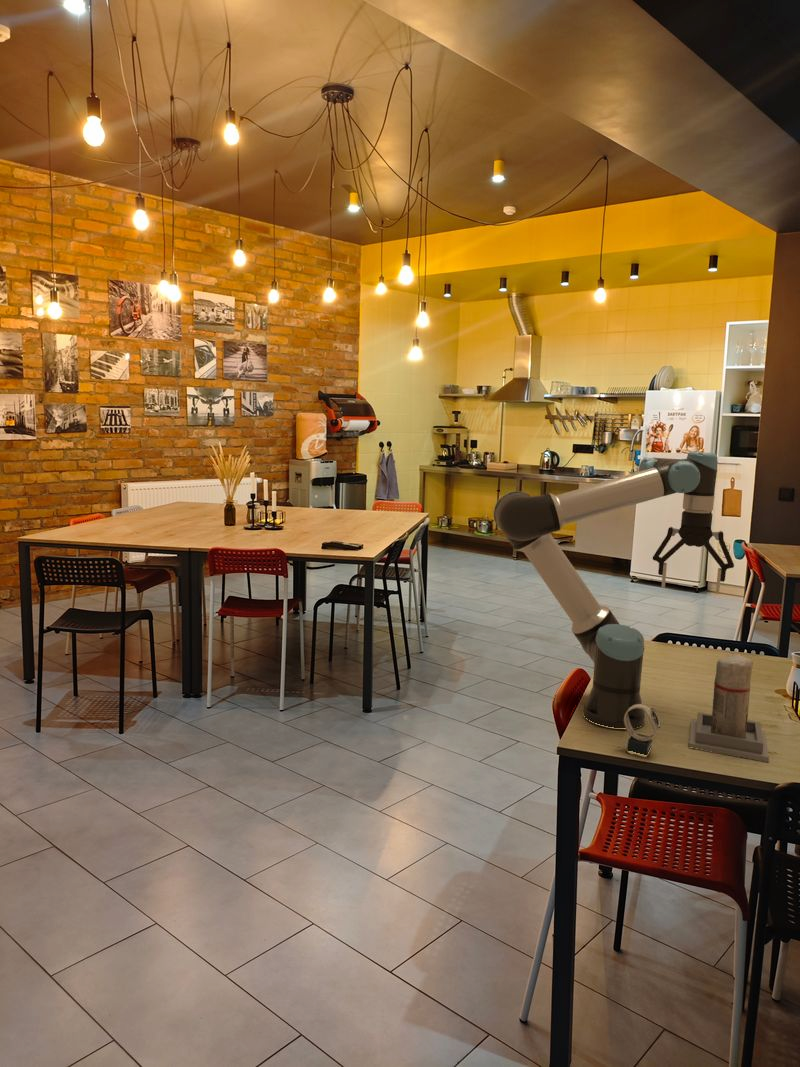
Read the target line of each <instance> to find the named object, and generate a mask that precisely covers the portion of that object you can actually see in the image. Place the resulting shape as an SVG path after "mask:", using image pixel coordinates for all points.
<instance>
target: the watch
mask: <svg viewBox="0 0 800 1067" xmlns="http://www.w3.org/2000/svg"><path fill="white" fill-rule="evenodd" d="M635 708H640V709H641V708H642V709H644V713H645V718H646V719H645V720H646V721H647V724H648V725H649V727H650V728H651V729H652V731H653V734H651V735H645V734H641V733H636V732H635V731H634V730H635V729H633V728H632V726H631V724H630V720H629V717H628V712H629V711H630V710H632V709H635ZM624 724H625V727H626V729H627V730H626V731H627V733H628V735H629V738H628V740H627V749H626V751H627V750H628V751H633V752H636V753H640V754H644V755H647V754H648V752H649V750H650V748H651V749H652V741H653V739H654V738H655V736H656V735H657V734H658V732H659V730H660V729H661V721H660V718H659V715H658V714H657V712H656V710H655V709H654V708H653V707H650V706H649V705H647V704H644V703H642V704H636V705H633V706H631V707H630V708H629V709H628V710H627V712H626V713H625V716H624ZM650 751H651V750H650ZM649 753H650V752H649ZM648 755H649V754H648Z"/></svg>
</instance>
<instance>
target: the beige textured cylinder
mask: <svg viewBox="0 0 800 1067" xmlns="http://www.w3.org/2000/svg"><path fill="white" fill-rule="evenodd" d="M753 664H754V663H753V661H752V659H751V658H748V657H745V656H742V655H741V654H735V653H734V654H730V655H727V657H724V658H720V659H718V660H717V662H716V669H715V670H716V671H715V672H716V673H715V677H714V686H713V699H712V712H711V714H712V721H711V722H712V724H711V733H715V734H720V735H726V736H732V737H738V738H744V739H746V729H747V720H748V716H749V706H750V705H749V704H750V693H751V678H752V670H753Z"/></svg>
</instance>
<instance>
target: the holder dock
mask: <svg viewBox="0 0 800 1067" xmlns="http://www.w3.org/2000/svg"><path fill="white" fill-rule="evenodd" d="M711 721H712V713H711V714H710V713H705V712H700V711H698V712H697V716H696V719H694V718H691V720H690V730H689V731H690V733H689V741H688V742H689V744H688V748H689V747H693V748H698V749H703V750H707V751H706V752H708V751H712V752H711V753H713V752H716V753H715V754H719V753H722V754H721V755H724V754H727V755H726V756H730V755H732V756H731V757H736V756H737V758H741V757H743V758H742V759H747V758H748V759H749V760H752V759H754V761H757V762H763V763H769V760H770V757H769V756H770V755H769V749H768V744H767V739H766V737H767V736H766V731H765V730H762V725H761V722H759V721H754V720H748V719H747V729H746V739H744V738H738V737H732V736H726V735H720V734H715V733H711V724H712V722H711Z"/></svg>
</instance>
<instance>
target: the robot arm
mask: <svg viewBox="0 0 800 1067" xmlns="http://www.w3.org/2000/svg"><path fill="white" fill-rule="evenodd" d="M639 463H640V464H639V466H638V471H637V472H633V473H631V474H626V475H623V476H619V477H616V478H611V479H608V480H606V481H602V482H598V483H595V484H591V485H588V486H585V487H581V488H578V489H577V488H576V489H575V490H571V491H567V492H564V493H559V494H557V495H555V494H553V493H551V492H549V493H546V494H542V495H532V496H531V495H530V494H529V493H527V492H524V491H520V490H515V491H514V490H513V491H510V492H507V493H505V494H503V495H502V496H501V497H500V498H498V500H497V502H496V504H495V505H494V508H493V509H494V510H493V519H494V520H493V521H494V522H495V524H496V526H497V528H499V529H500V530H501V532H502V533H503V534H504V536H505V538H506V539H507V540H508V541H509V543H510V545H511V546H512V547H513V549H514V550H515V551H516V552H522V553H524V555H525V556H526V557H527V560H528V561H529V562H530V563H531V565H532V566H533V567H534V569H535V570H536V572H537V574H538V575H539V576H540V578H541V580H543V582H544V583H545V585H546V586H547V588H548V589H549V591H550V592H551V594H552V595H553V596H554V598H555V599H556V600H557V602H558V604H559V605H560V607H561V608H562V609H563V610H564V612H565V614H566V616H568V618H569V620H570V621H571V623H572V626H571V632H572V633H573V635H574V637H575V638H576V639H577V641H578V642H579V643H580V645H581V648H582V649H583V651H584V652H585V653H586V654H587V655H588V656H589V658H590V659H591V661H593V663H594V664H593V665H594V666H593V677H592V688H591V689H590V692H589V694H588V696H587V699H586V701H585V704H584V706H583V713H582V714H584V716H585V718H587V719H588V720H590V721H592V722H594V723H597V724H600V725H604V726H608V727H614V728H626V727H625V724H624V716H625V713H626V712H627V710H628V709H629V708H630V707H631V706H633V705H636V704H643V700H642V698H641V692H640V691H641V682H642V671H643V659H644V652H645V642H644V641H645V639H644V634H642V633H641V632H640V631H639V630H638V629H636V628H634V627H631V626H630V625H629V626H628V625H625V624H620V622H619V621H618V619H617V618H616V617H615V615H614V614H613V612H612V611H611V610H610V608H609V606H606V605H601V604H600V603H599V601H597V599H596V598H595V596H594V595H593V593H592V592H591V590H590V589H589V587H588V586H587V584H586V583H585V581H584V580H583V579H582V577H581V576H580V574H579V573H578V571H577V570H576V568H575V567H574V566H573V564H572V563H571V562H570V560H569V559H568V557H567V555H566V554H565V553H564V551H563V550H562V548H561V547H560V545H559V544H558V543H557V541H556V540H555V538H554V537H553V535H552V533H553V534H554V533H555V532H560V531H561V530H562V529H563V527H564V526H565V525H568V524H572V523H575V522H579V521H583V520H585V519H586V520H587V519H589V518H592V517H596V516H599V515H603V514H606V513H610V512H613V511H616V510H620V509H623V508H627V507H631V506H634V505H638V504H641V503H644V502H648V501H651V500H655V499H658V498H662V497H666V496H670V495H672V494H683V498H682V509H683V511H682V513H681V520H680V521H681V522H680V528H676V527H675V528H674V527H673V526H670V527H668V529H667V532H666V536H665V538H664V539H663V541H662V542H661V544H660V545H659V546H658V548H657V550H656V551H655V553H654V554H653V556H652V560H653V561H655V562H657V563H658V575H659V576H661V577H662V578H661V589H665V587H666V577H667V567H668V562H666V561H667V560H668V559H670V557H671V556H673V555H674V554H675V553H676V552H677V551H678V550H679V549H680V548H682V547H683V546H684V545H686V546H688V547H696V548H697V547H698V548H701V547H704V548H705V549H706V550H707V551H708V553H709V555H711V557H712V559H714V561H715V562H716V563H717V565H719V567H720V568H719V567H718V568H717V576H716V587H715V594H716V595H720V586H721V582H725V580H726V574H727V570H728V569H734V567H735V563H734V561H733V559H732V557H731V553H730V552H729V550H728V546H727V544H726V542H725V540H724V532H723V531H722V530H719V531H712V524H713V513H712V512H713V511H714V502H715V491H716V490H715V489H716V483H717V482H716V481H717V474H718V463H719V462H718V455H717V454H716V453H714V452H705V451H702V452H701V451H689V452H688V453H687V456H686V458H682V459H680V458H666V457H665V458H663V457H644V458H643V459H642V460H640V462H639ZM676 534H678V535H679V537H680V540H678V542H676V544H674V545H673V546H672V547H671V549H669V550H668V551H667V552H666V553H665V554H664V555H662V556H660V555H661V554H662V553H663V551H664V549H665V548H666V547H667V545H668V543H669V541H671V538H672V537H675V535H676ZM712 537H714V538H715V540H716V541H718V544H719V545H720V548H721V550H722V553H723V555H724V557H725V560H726V562H727V563H725V562H724V560H723V559H722V558H721V557H720V555H719V554H718V553H717V551H716V550H715V549H714V547H713V546H712V545H711V543H710V542H709V541H710V540H711V538H712ZM584 716H583V717H584ZM628 717H629V720H630V724H631V726H632V728H637V727H640V726H642V725H643V724H644V725H645V720H646V719H645V718H646V714H645V712H644V709H642V708H641V709H640V708H635V709H632V710H630V711H629V712H628ZM585 718H584V719H585ZM644 725H643V726H644ZM643 726H642V727H643ZM640 728H641V727H640ZM637 729H638V728H637Z"/></svg>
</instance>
